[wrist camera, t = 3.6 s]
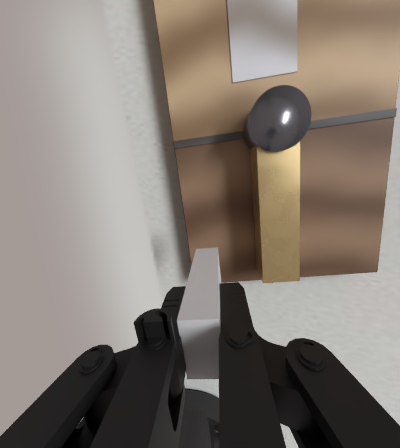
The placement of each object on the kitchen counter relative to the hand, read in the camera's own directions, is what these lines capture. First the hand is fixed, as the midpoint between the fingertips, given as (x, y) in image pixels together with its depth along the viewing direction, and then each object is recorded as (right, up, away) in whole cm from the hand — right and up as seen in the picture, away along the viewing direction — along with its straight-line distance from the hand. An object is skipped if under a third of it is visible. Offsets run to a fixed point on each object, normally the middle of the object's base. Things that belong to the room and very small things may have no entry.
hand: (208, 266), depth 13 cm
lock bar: (+6, +6, +4) cm, 9 cm away
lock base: (+6, +11, +5) cm, 14 cm away
